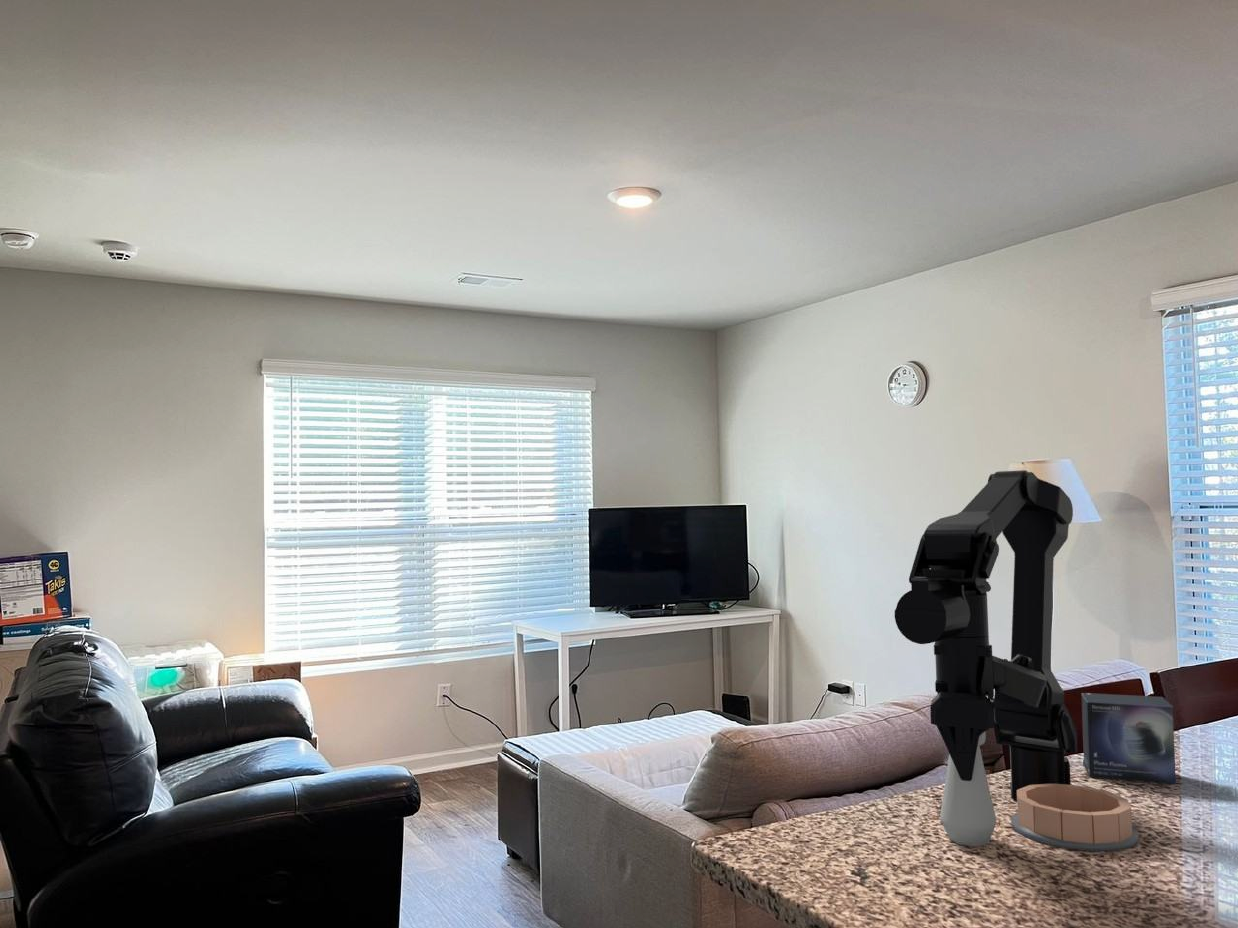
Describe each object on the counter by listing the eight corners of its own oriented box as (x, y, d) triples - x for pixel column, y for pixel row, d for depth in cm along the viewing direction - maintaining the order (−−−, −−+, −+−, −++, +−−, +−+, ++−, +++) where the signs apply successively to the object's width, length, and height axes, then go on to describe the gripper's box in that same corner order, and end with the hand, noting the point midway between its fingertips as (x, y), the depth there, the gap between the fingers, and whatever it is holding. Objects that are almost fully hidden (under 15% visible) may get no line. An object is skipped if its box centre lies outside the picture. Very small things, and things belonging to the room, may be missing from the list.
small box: (1089, 778, 125) (1085, 700, 125) (1082, 766, 131) (1079, 691, 131) (1178, 785, 121) (1173, 704, 122) (1167, 772, 127) (1163, 695, 128)
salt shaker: (934, 831, 105) (930, 715, 106) (985, 830, 105) (980, 715, 105) (951, 849, 99) (947, 727, 100) (1005, 849, 99) (1000, 726, 100)
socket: (1013, 842, 101) (1011, 809, 101) (1010, 807, 113) (1008, 777, 113) (1148, 857, 96) (1146, 822, 96) (1129, 818, 108) (1128, 787, 108)
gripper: (1045, 648, 91) (1052, 807, 90) (1035, 627, 109) (1041, 760, 108) (927, 644, 96) (933, 796, 95) (936, 624, 113) (941, 753, 112)
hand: (966, 775), depth 102 cm, fingers closed on salt shaker, 4 cm apart
